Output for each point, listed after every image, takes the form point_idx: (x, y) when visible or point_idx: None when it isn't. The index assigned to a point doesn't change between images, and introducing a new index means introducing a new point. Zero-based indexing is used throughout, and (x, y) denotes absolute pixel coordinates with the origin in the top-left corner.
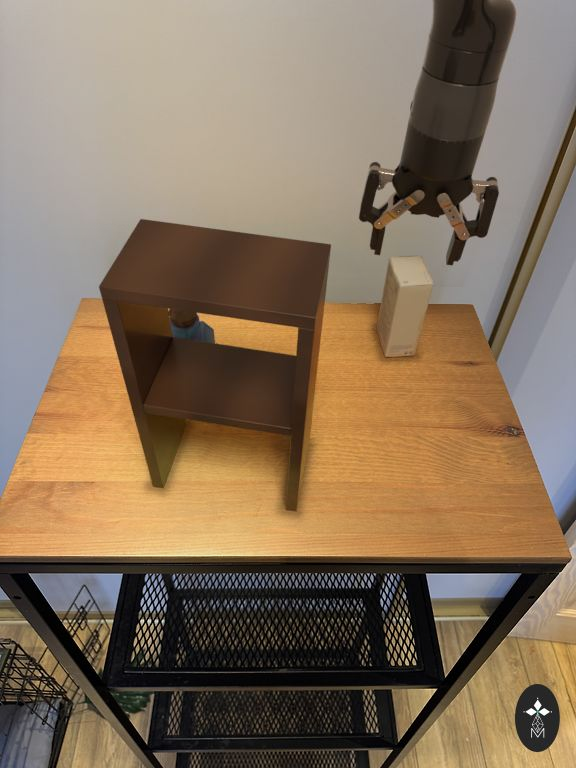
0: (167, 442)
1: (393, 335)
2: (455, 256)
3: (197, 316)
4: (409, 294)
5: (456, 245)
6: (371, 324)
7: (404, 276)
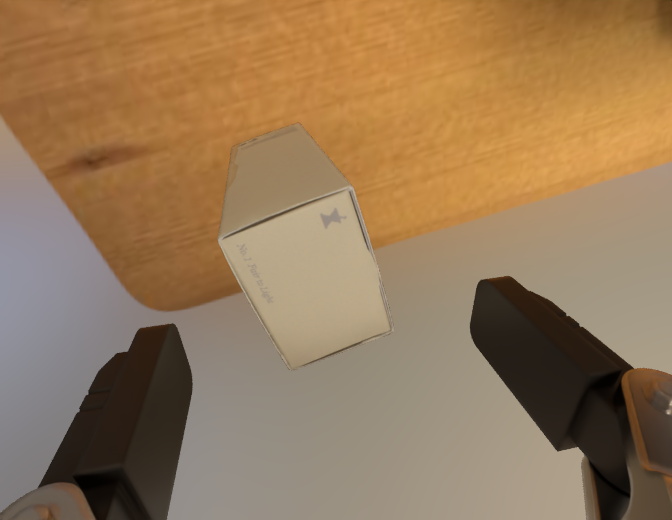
0: None
1: (299, 138)
2: (121, 366)
3: None
4: (300, 186)
5: (109, 429)
6: None
7: (338, 250)
